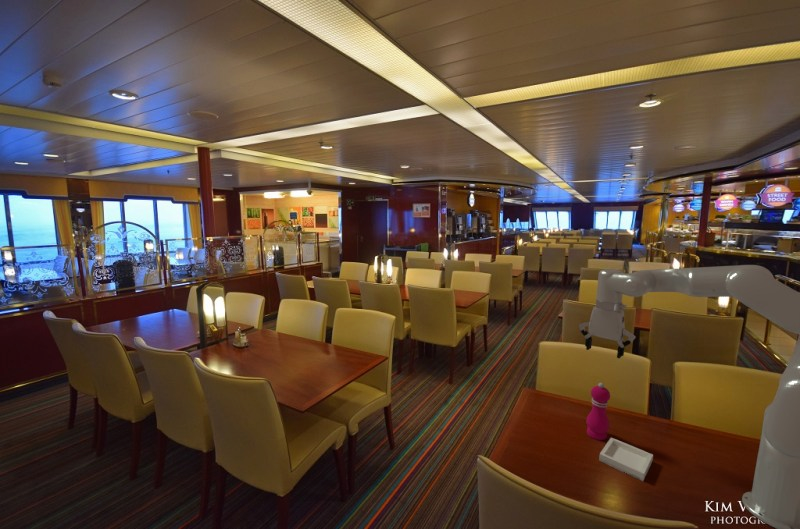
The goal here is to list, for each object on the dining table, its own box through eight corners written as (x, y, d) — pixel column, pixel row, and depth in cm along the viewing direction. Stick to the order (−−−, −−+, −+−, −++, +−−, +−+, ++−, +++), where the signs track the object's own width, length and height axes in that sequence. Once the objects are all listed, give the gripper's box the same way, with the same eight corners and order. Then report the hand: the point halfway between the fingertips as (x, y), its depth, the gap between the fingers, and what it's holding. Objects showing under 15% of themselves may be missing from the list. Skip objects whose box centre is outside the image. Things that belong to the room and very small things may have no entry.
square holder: (652, 461, 111) (653, 454, 111) (643, 481, 103) (644, 473, 103) (610, 443, 120) (611, 437, 120) (599, 460, 112) (599, 453, 111)
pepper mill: (580, 431, 127) (585, 380, 124) (594, 426, 130) (598, 376, 127) (599, 443, 120) (604, 390, 117) (612, 437, 123) (618, 385, 120)
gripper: (641, 308, 114) (635, 357, 117) (585, 299, 127) (581, 343, 129) (635, 313, 109) (629, 364, 112) (577, 302, 121) (573, 348, 124)
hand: (603, 352), depth 120 cm, fingers open, 9 cm apart
